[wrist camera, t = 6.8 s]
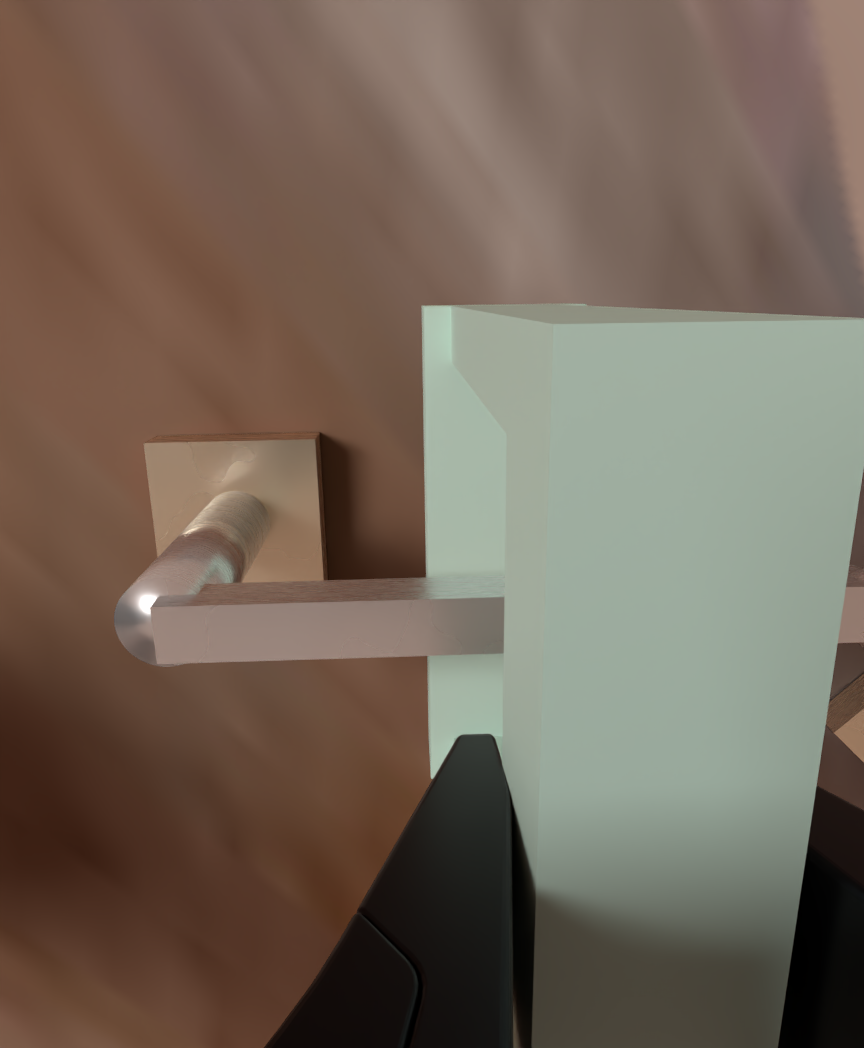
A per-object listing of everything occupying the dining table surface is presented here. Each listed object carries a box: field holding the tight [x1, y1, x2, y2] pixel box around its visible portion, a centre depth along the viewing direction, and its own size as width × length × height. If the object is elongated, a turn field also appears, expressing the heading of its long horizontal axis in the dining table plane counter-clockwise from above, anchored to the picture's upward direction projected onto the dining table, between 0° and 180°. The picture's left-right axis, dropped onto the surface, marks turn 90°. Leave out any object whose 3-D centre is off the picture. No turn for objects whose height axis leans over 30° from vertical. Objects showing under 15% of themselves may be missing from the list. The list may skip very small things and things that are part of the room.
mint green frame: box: [422, 304, 864, 1048], centre depth 12 cm, size 10×3×12 cm, turn 1°
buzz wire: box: [114, 432, 864, 762], centre depth 17 cm, size 5×25×9 cm, turn 72°
